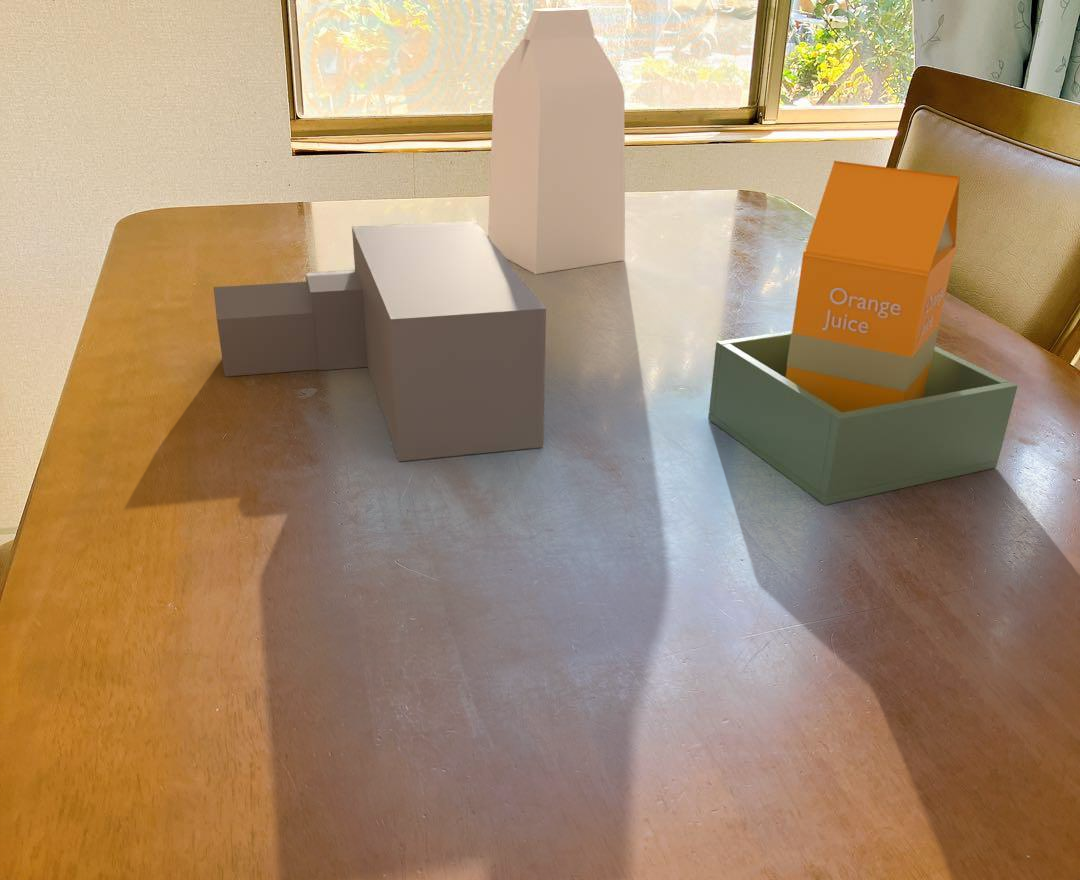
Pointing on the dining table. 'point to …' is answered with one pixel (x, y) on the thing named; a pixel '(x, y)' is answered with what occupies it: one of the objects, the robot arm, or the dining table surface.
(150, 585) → the dining table surface
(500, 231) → the milk
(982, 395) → the crate
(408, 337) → the grey stepped block
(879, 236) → the orange juice
